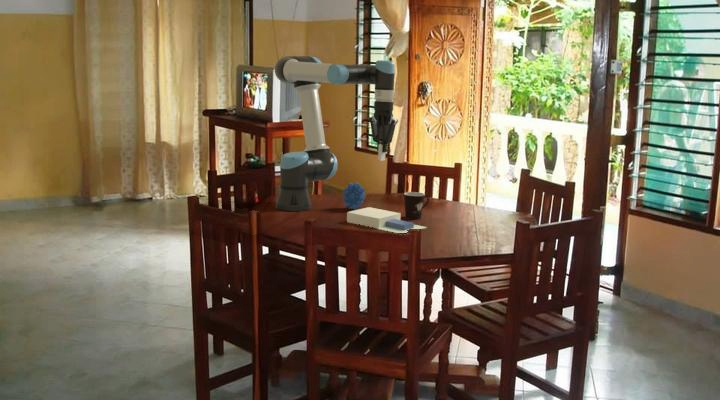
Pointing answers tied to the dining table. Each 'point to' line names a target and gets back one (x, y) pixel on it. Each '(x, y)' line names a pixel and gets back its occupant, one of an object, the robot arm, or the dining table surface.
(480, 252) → the dining table surface
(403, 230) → the mat
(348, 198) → the grapes
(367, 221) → the cream flat block
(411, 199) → the coffee mug
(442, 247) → the dining table surface
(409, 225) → the blue rectangular block
